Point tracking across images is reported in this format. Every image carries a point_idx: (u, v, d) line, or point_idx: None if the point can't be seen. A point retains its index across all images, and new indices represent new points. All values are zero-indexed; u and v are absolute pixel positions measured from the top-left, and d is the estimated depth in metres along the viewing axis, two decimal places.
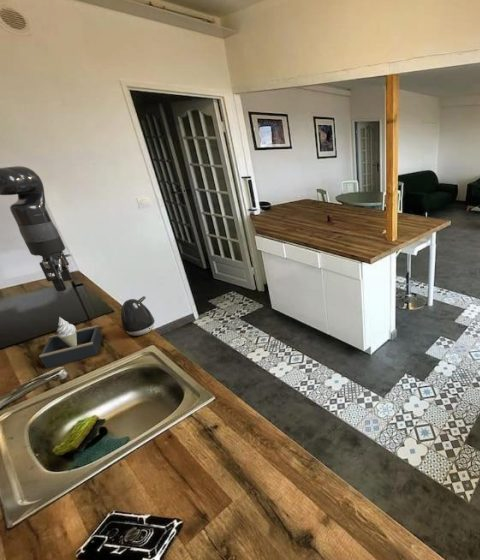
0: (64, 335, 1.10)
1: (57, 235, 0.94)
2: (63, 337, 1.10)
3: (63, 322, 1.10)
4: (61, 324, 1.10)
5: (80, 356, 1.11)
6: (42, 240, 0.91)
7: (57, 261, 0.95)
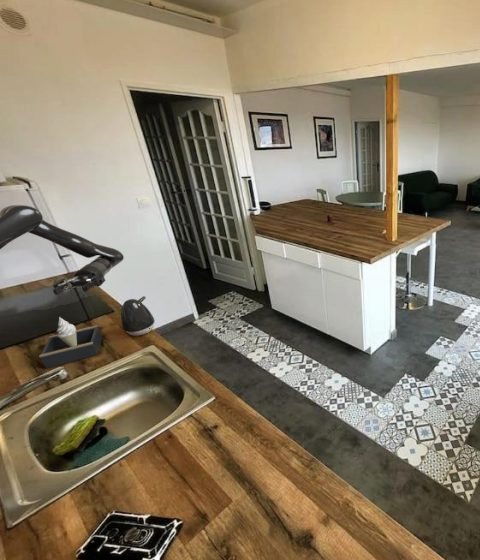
0: (64, 335, 1.10)
1: None
2: (63, 337, 1.10)
3: (63, 322, 1.10)
4: (61, 324, 1.10)
5: (80, 356, 1.11)
6: (102, 274, 1.31)
7: None
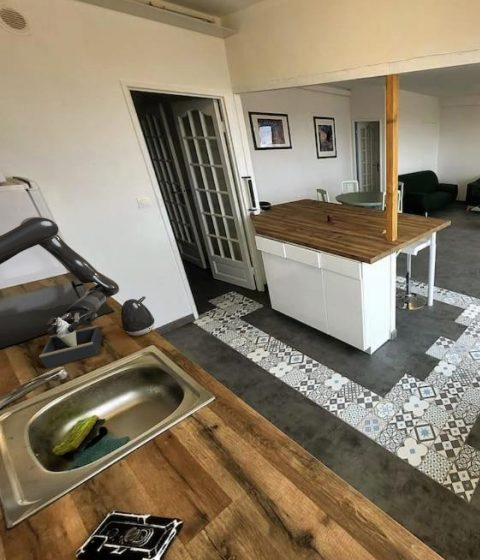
0: (63, 335, 1.10)
1: None
2: (62, 337, 1.10)
3: (62, 322, 1.10)
4: (60, 324, 1.10)
5: (80, 356, 1.11)
6: (96, 308, 1.25)
7: None
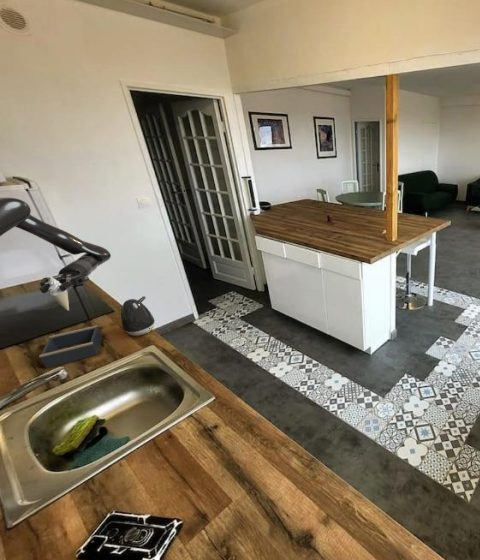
0: (55, 294, 1.15)
1: None
2: (54, 295, 1.15)
3: (54, 281, 1.14)
4: (52, 283, 1.14)
5: (80, 356, 1.11)
6: (88, 272, 1.29)
7: None
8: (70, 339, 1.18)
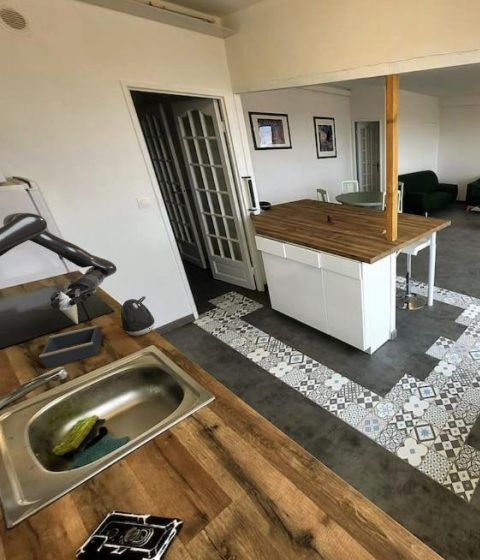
0: (65, 308, 1.20)
1: None
2: (64, 310, 1.20)
3: (64, 296, 1.20)
4: (62, 298, 1.19)
5: (80, 356, 1.11)
6: (95, 286, 1.35)
7: None
8: (70, 339, 1.18)
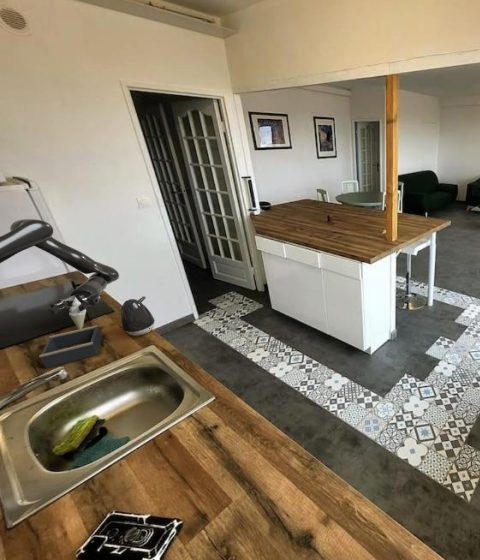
0: (75, 314, 1.23)
1: None
2: (74, 316, 1.23)
3: (77, 302, 1.23)
4: (75, 304, 1.23)
5: (80, 356, 1.11)
6: (98, 292, 1.36)
7: None
8: (70, 339, 1.18)
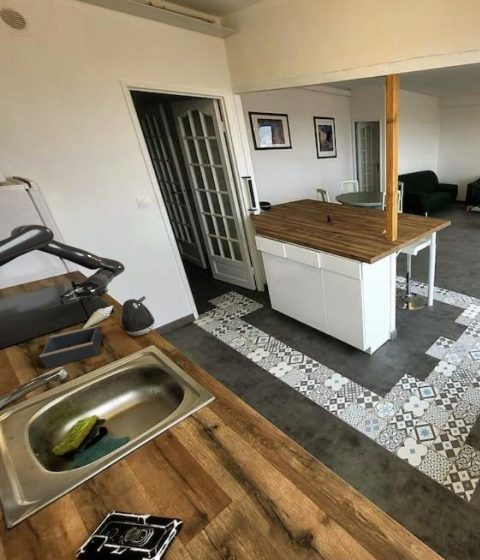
0: (103, 313, 1.33)
1: None
2: (101, 314, 1.32)
3: (111, 309, 1.37)
4: (109, 308, 1.36)
5: (80, 356, 1.11)
6: (105, 284, 1.41)
7: None
8: (70, 339, 1.18)
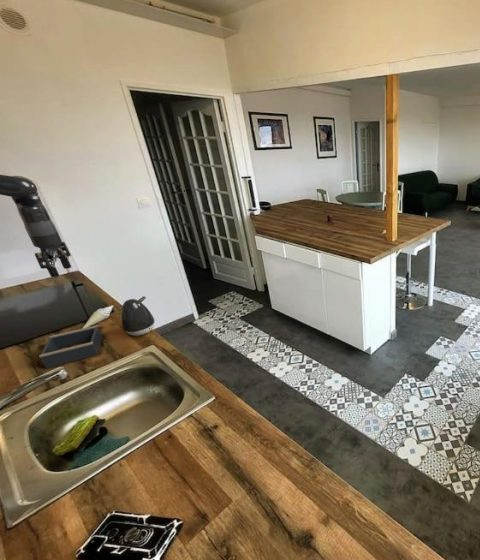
0: (103, 313, 1.33)
1: (53, 231, 1.15)
2: (100, 314, 1.32)
3: (111, 309, 1.37)
4: (109, 308, 1.36)
5: (80, 356, 1.11)
6: (39, 235, 1.12)
7: (53, 252, 1.17)
8: (70, 339, 1.18)
